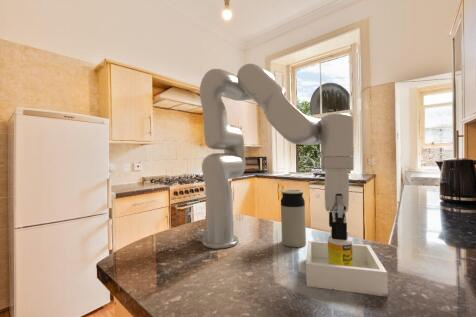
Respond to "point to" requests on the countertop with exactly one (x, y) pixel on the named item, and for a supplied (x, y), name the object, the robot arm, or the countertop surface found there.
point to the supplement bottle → (340, 251)
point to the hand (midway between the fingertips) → (337, 232)
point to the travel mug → (293, 218)
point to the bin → (346, 270)
